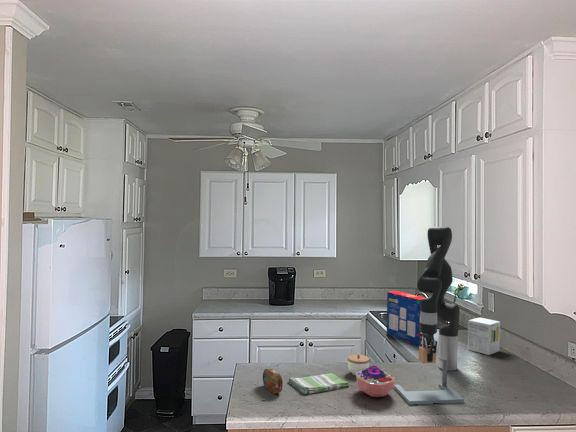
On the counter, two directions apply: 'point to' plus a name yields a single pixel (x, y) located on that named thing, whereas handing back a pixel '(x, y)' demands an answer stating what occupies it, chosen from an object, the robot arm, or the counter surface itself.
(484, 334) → the supplement box
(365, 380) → the cell model
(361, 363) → the lidded jar
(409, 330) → the blue cardboard box
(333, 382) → the dish towel
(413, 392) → the screw clamp
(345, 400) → the counter surface
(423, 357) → the tan wooden brick
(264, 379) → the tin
